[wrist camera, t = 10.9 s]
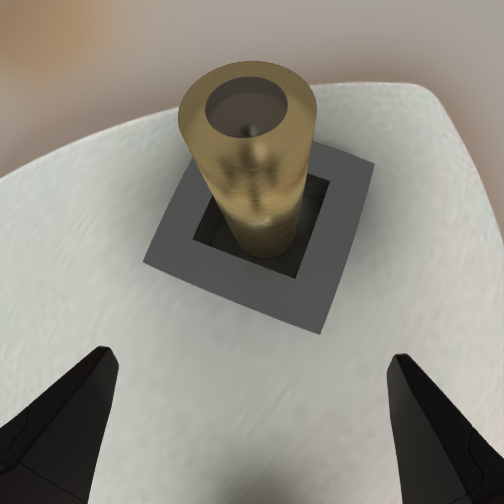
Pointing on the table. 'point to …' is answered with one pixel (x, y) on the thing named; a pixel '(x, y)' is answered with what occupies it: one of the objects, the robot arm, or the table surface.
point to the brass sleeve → (252, 148)
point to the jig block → (255, 276)
